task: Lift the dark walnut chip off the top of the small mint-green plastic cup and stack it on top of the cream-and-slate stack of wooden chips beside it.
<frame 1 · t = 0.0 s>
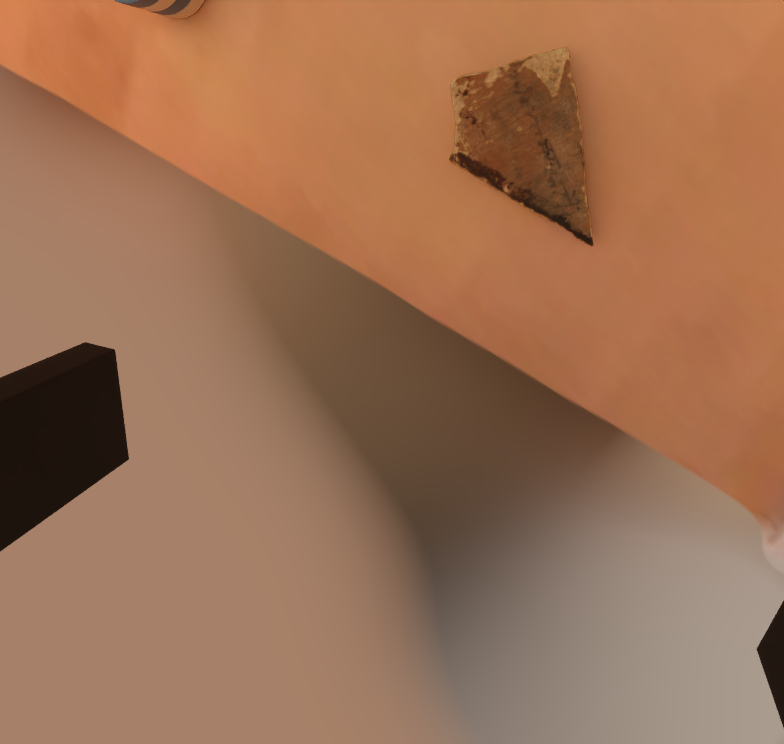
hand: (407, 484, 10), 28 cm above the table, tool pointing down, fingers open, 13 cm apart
shard: (545, 133, 32), on the table
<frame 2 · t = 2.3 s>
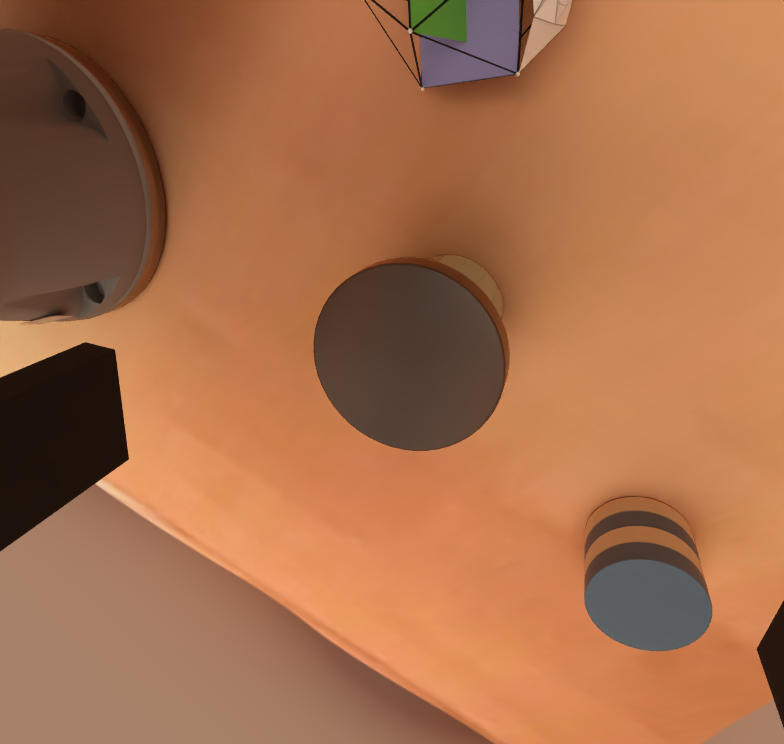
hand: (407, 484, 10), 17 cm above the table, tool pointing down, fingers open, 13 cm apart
plastic cup: (449, 308, 27), on the table, touching walnut chip
chip stack: (637, 538, 29), on the table
walnut chip: (412, 352, 21), point 6 cm above the table, touching plastic cup
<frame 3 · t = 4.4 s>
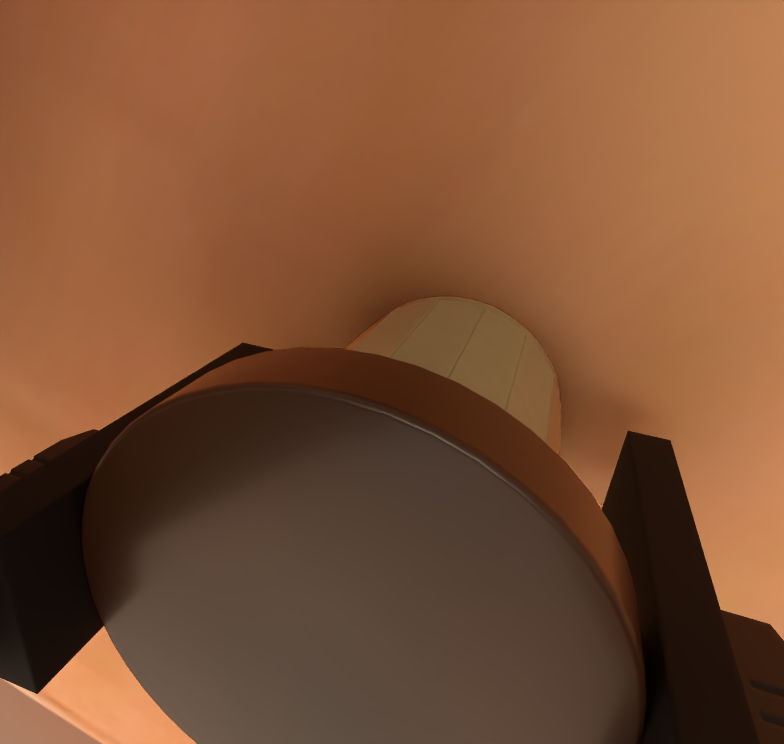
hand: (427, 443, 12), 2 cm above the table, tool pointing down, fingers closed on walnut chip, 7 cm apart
plastic cup: (449, 398, 14), on the table, touching walnut chip
walnut chip: (356, 587, 8), point 6 cm above the table, touching gripper, plastic cup
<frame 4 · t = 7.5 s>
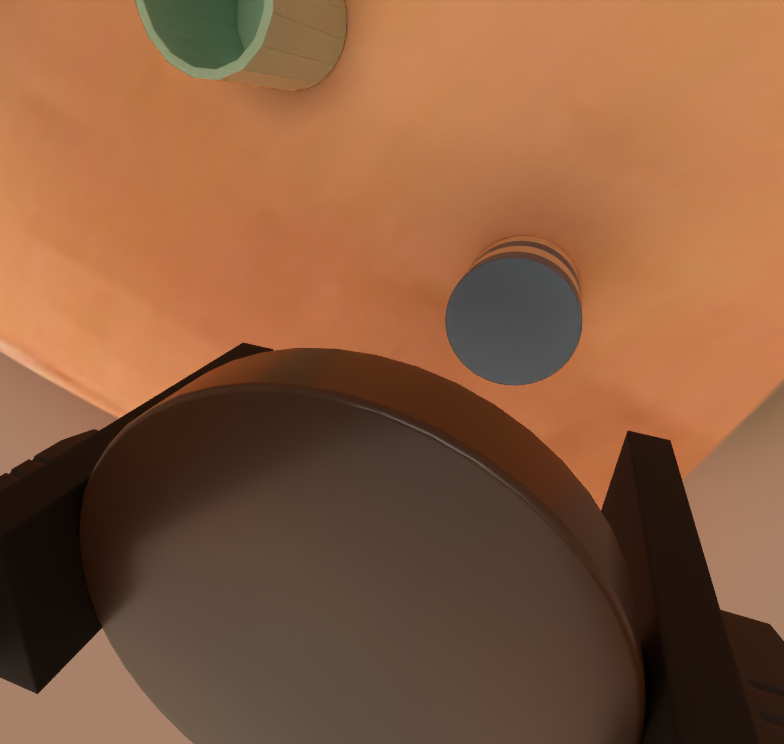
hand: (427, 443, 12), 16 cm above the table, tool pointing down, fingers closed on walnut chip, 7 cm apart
plastic cup: (290, 22, 24), on the table
chip stack: (521, 292, 25), on the table
walnut chip: (355, 588, 8), point 20 cm above the table, touching gripper
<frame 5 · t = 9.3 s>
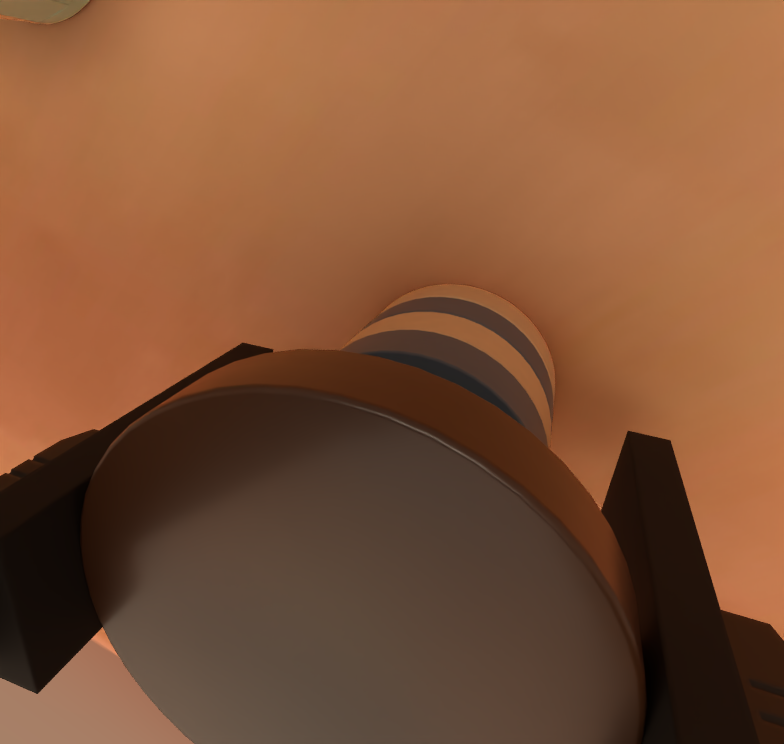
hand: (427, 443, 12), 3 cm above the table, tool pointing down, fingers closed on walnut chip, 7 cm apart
chip stack: (453, 379, 14), on the table
walnut chip: (356, 589, 8), point 7 cm above the table, touching gripper
when the fingers open (0 cm above the table, at t = 10.5 s): walnut chip stays where it is, resting on chip stack.
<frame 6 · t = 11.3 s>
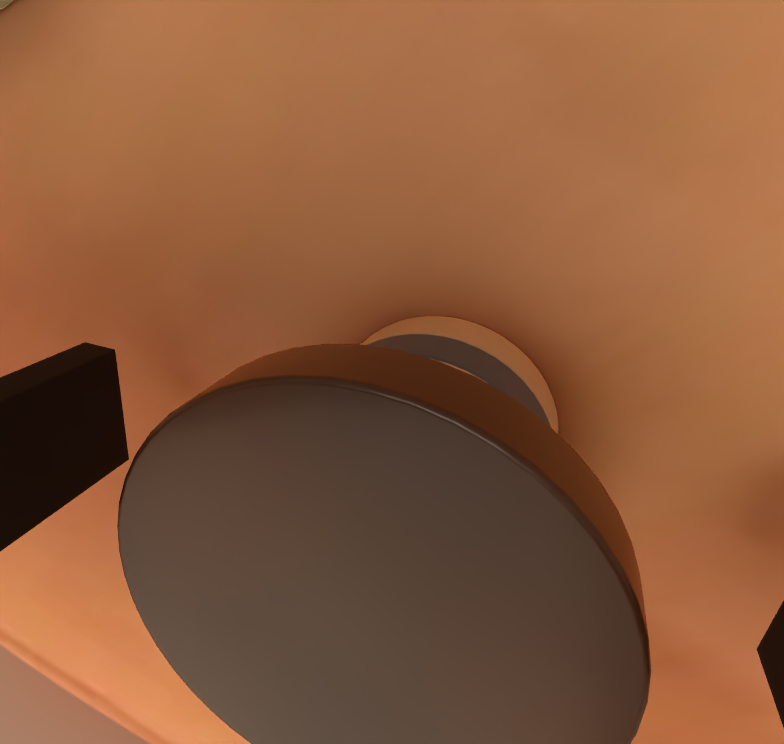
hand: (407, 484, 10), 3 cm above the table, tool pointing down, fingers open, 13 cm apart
chip stack: (441, 423, 13), on the table, touching walnut chip
walnut chip: (375, 571, 8), point 5 cm above the table, touching chip stack
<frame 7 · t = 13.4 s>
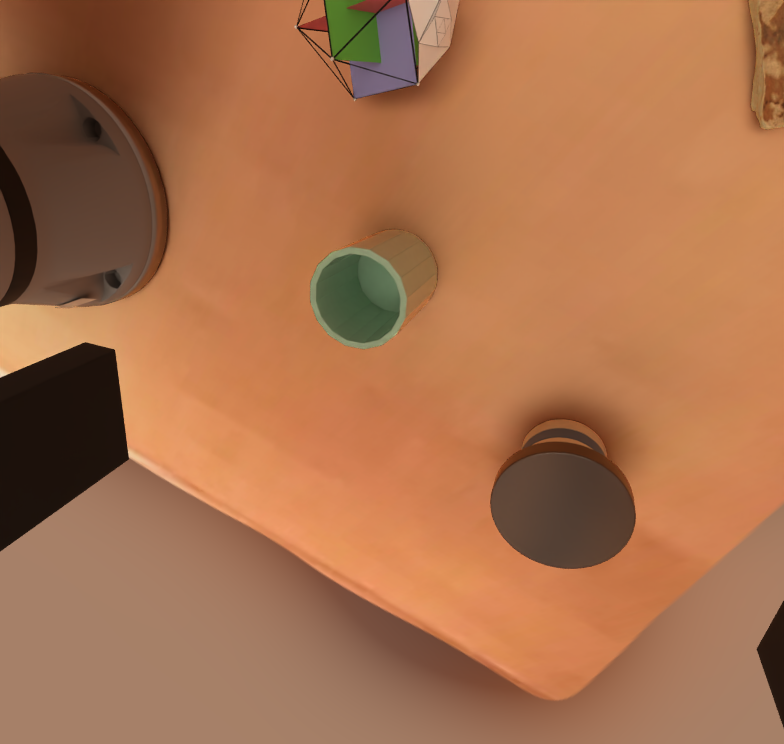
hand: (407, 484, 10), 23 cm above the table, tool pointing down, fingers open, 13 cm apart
plastic cup: (395, 272, 34), on the table
chip stack: (563, 455, 35), on the table, touching walnut chip
walnut chip: (560, 500, 30), point 5 cm above the table, touching chip stack
geometric puzzle: (397, 26, 29), on the table
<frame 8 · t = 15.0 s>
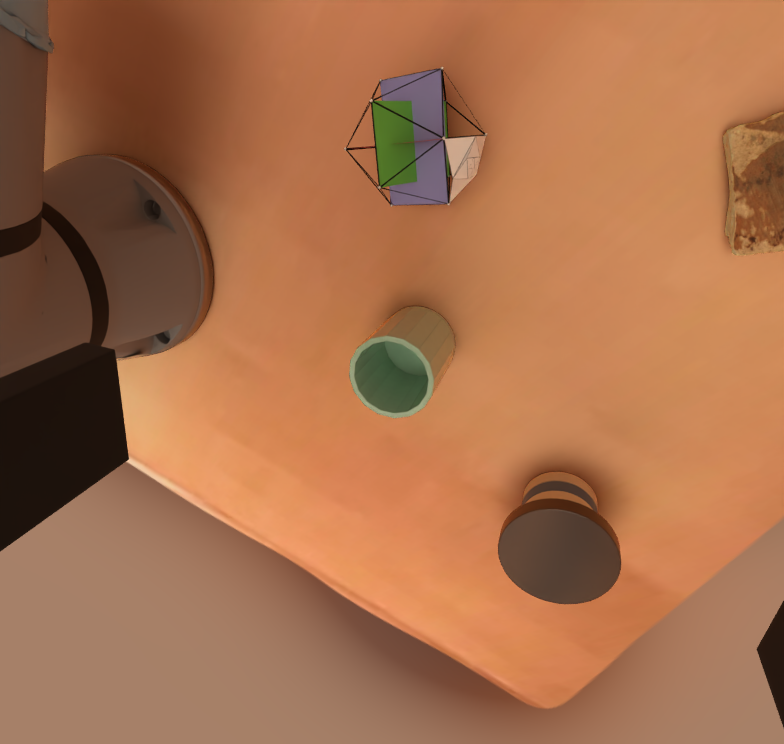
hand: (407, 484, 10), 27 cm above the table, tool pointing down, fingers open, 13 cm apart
plastic cup: (418, 342, 38), on the table
chip stack: (559, 501, 40), on the table, touching walnut chip
walnut chip: (558, 546, 36), point 5 cm above the table, touching chip stack
geometric puzzle: (429, 141, 33), on the table
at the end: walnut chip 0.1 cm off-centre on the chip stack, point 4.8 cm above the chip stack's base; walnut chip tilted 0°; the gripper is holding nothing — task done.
